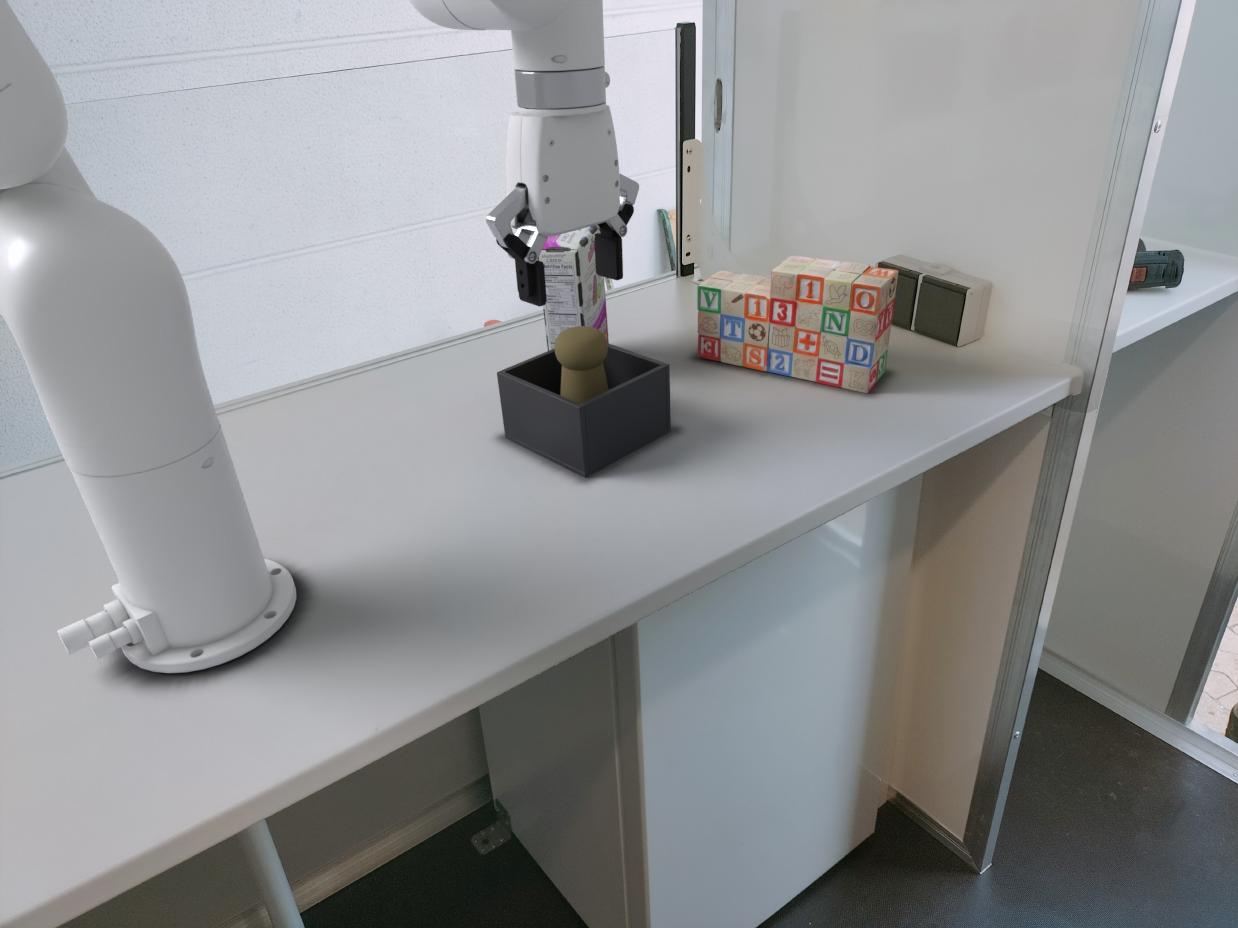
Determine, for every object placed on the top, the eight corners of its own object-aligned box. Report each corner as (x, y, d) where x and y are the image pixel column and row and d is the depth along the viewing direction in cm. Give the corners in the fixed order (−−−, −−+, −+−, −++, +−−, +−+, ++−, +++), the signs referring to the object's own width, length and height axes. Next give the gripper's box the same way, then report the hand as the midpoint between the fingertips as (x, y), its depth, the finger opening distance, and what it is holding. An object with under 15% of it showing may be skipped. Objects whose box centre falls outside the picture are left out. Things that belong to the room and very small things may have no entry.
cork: (628, 428, 88) (623, 328, 82) (587, 451, 84) (579, 348, 79) (587, 411, 92) (580, 315, 86) (546, 433, 88) (535, 333, 82)
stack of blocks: (696, 358, 103) (695, 259, 97) (719, 340, 108) (720, 244, 102) (869, 394, 93) (881, 285, 87) (887, 372, 98) (900, 267, 91)
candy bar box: (571, 348, 108) (561, 218, 100) (610, 350, 107) (602, 219, 99) (547, 386, 99) (534, 246, 90) (589, 388, 98) (579, 247, 89)
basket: (585, 478, 81) (579, 407, 77) (505, 438, 88) (496, 372, 85) (671, 430, 88) (669, 364, 84) (590, 397, 96) (585, 335, 92)
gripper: (603, 80, 79) (610, 261, 88) (449, 100, 69) (474, 304, 77) (663, 84, 74) (664, 275, 83) (508, 107, 64) (527, 323, 72)
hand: (572, 289), depth 80 cm, fingers open, 9 cm apart
